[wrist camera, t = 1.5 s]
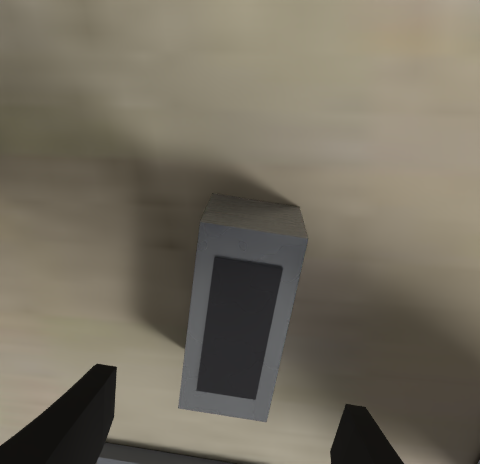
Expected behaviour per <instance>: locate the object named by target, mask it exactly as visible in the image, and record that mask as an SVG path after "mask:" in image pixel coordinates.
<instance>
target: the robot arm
mask: <svg viewBox="0 0 480 464" xmlns="http://www.w3.org/2000/svg"><path fill="white" fill-rule="evenodd" d="M116 371H117V367H114V366H108V365H102V364H96V365H95V366H93V367H92V368H91V369H90V370H89V371H88V372H87V373H86V374H85V375H84V376H83V377H82V378H81V379H80V380H79V381H78V382H77V383H75V384H74V385H73V386H72V387H71V388H70V389H69V390H68V391H67V392H66V393H65V394H64V395H62V396H61V397H60V398H59V399H58V400H57V401H56V402H54V403H53V404H52V405H51V406H50V407H49V408H48V409H46V410H45V411H44V412H43V413H42V414H40V415H39V416H38V417H37V418H36V419H34V420H33V421H32V422H31V423H29V424H28V425H27V426H26V427H24V428H23V429H22V430H20V431H19V432H18V433H17V434H15V435H14V436H13V437H11V438H10V439H9V440H7V441H6V442H5V443H3V444H2V445H1V446H0V464H96V462H97V460H98V458H99V456H100V454H101V451H102V449H103V446H104V444H105V441H106V438H107V435H108V433H109V430H110V427H111V424H112V421H113V418H114V408H115V389H116ZM330 455H331V464H404V463H403V461H402V460H401V459H400V457H399V456H398V454H397V453H396V452H395V450H394V449H393V447H392V446H391V444H390V443H389V441H388V440H387V438H386V437H385V435H384V434H383V433H382V431H381V430H380V428H379V427H378V425H377V424H376V422H375V421H374V419H373V418H372V416H371V415H370V413H369V412H368V410H367V409H366V407H362V406H355V405H349V404H346V405H345V408H344V411H343V414H342V417H341V420H340V424H339V427H338V430H337V433H336V436H335V439H334V442H333V445H332V448H331V451H330ZM478 464H480V461H479V462H478Z"/></svg>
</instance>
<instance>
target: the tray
mask: <svg viewBox="0 0 480 464" xmlns="http://www.w3.org/2000/svg"><path fill="white" fill-rule="evenodd" d="M97 464H234V463H228V462H222V461H216V460H209V459H203V458H197V457H191V456H185V455H179V454H173V453H167V452H160V451H154V450H148V449H142V448H136V447H130V446H124V445H117V444H111V443H105V444H104V446H103V449H102V451H101V454H100V456H99V458H98V460H97Z"/></svg>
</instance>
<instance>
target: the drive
mask: <svg viewBox="0 0 480 464" xmlns="http://www.w3.org/2000/svg"><path fill="white" fill-rule="evenodd" d="M307 242H308V236H307V232H306V229H305V225H304V221H303V217H302V214H301V210H300V207H297V206H291V205H284V204H278V203H271V202H265V201H259V200H252V199H246V198H240V197H233V196H227V195H221V194H214V193H212V196H211V198H210V200H209V202H208V205H207V207H206V209H205V212H204V214H203V216H202V219H201V221H200V227H199V235H198V244H197V252H196V261H195V269H194V278H193V286H192V295H191V304H190V312H189V321H188V329H187V338H186V346H185V355H184V363H183V372H182V380H181V389H180V398H179V406H178V408H180V409H186V410H192V411H199V412H205V413H211V414H218V415H224V416H230V417H237V418H243V419H250V420H256V421H262V422H267V418H268V413H269V409H270V405H271V400H272V396H273V391H274V387H275V383H276V378H277V374H278V369H279V365H280V361H281V356H282V352H283V347H284V343H285V339H286V334H287V330H288V325H289V321H290V317H291V312H292V308H293V303H294V299H295V295H296V290H297V286H298V282H299V277H300V273H301V268H302V264H303V260H304V255H305V251H306V246H307Z"/></svg>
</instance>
